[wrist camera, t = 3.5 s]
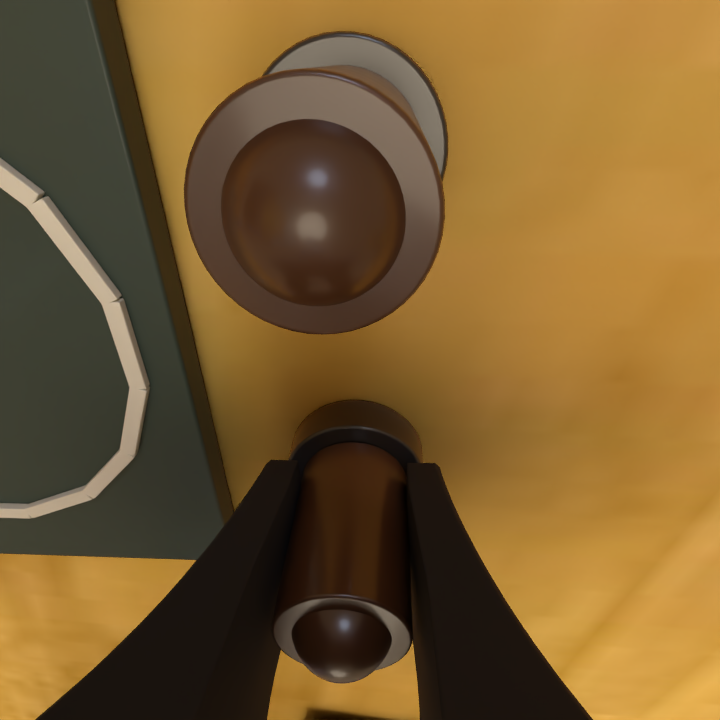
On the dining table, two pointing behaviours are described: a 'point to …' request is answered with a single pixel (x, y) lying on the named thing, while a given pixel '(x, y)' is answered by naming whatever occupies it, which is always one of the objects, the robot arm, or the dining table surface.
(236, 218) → the stamp
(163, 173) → the dining table surface
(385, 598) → the stamp
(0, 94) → the slate board
